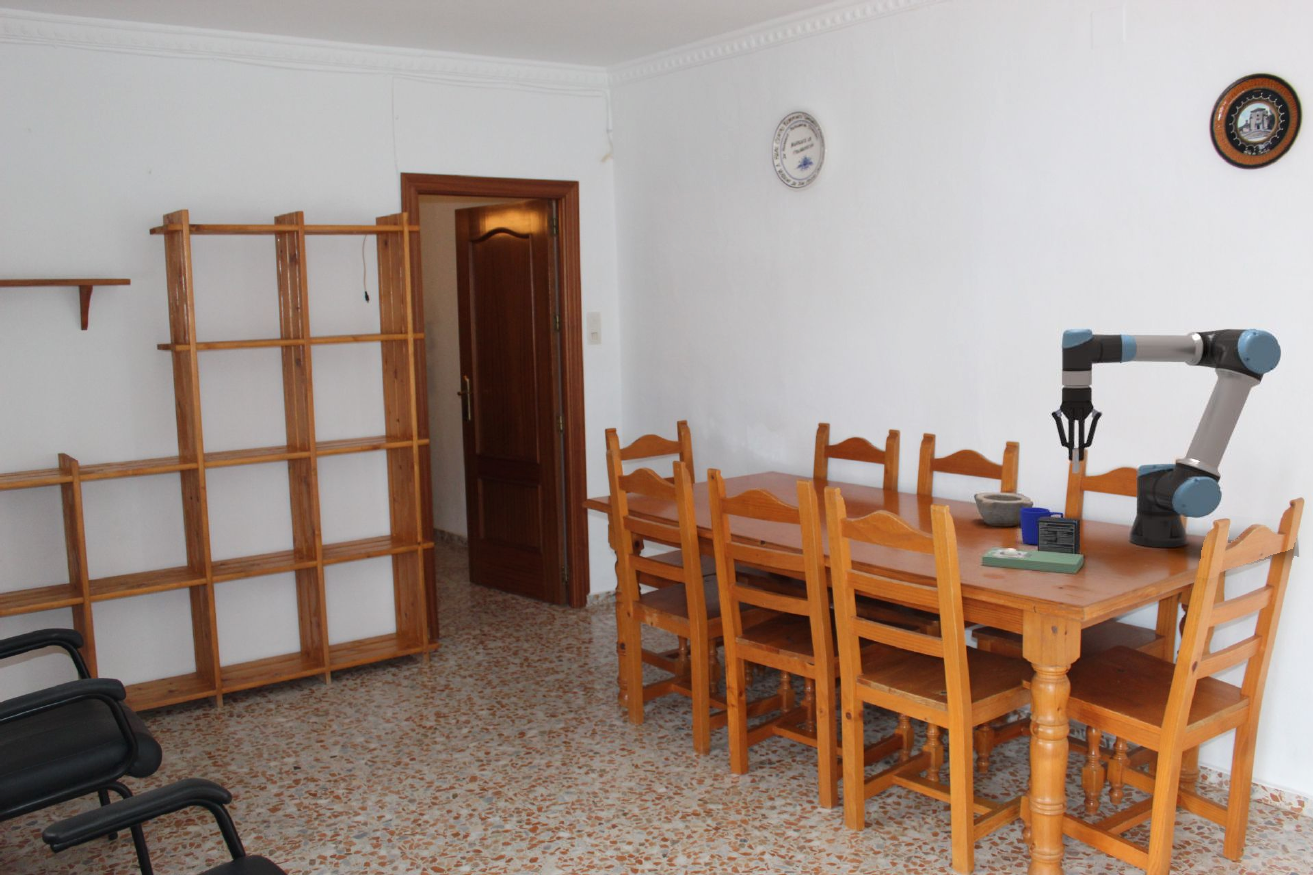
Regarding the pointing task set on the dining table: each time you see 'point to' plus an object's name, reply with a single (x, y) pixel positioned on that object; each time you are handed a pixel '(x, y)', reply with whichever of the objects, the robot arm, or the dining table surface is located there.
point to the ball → (1011, 552)
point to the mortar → (1001, 507)
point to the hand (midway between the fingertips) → (1076, 472)
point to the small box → (1059, 535)
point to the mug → (1033, 522)
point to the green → (1034, 560)
